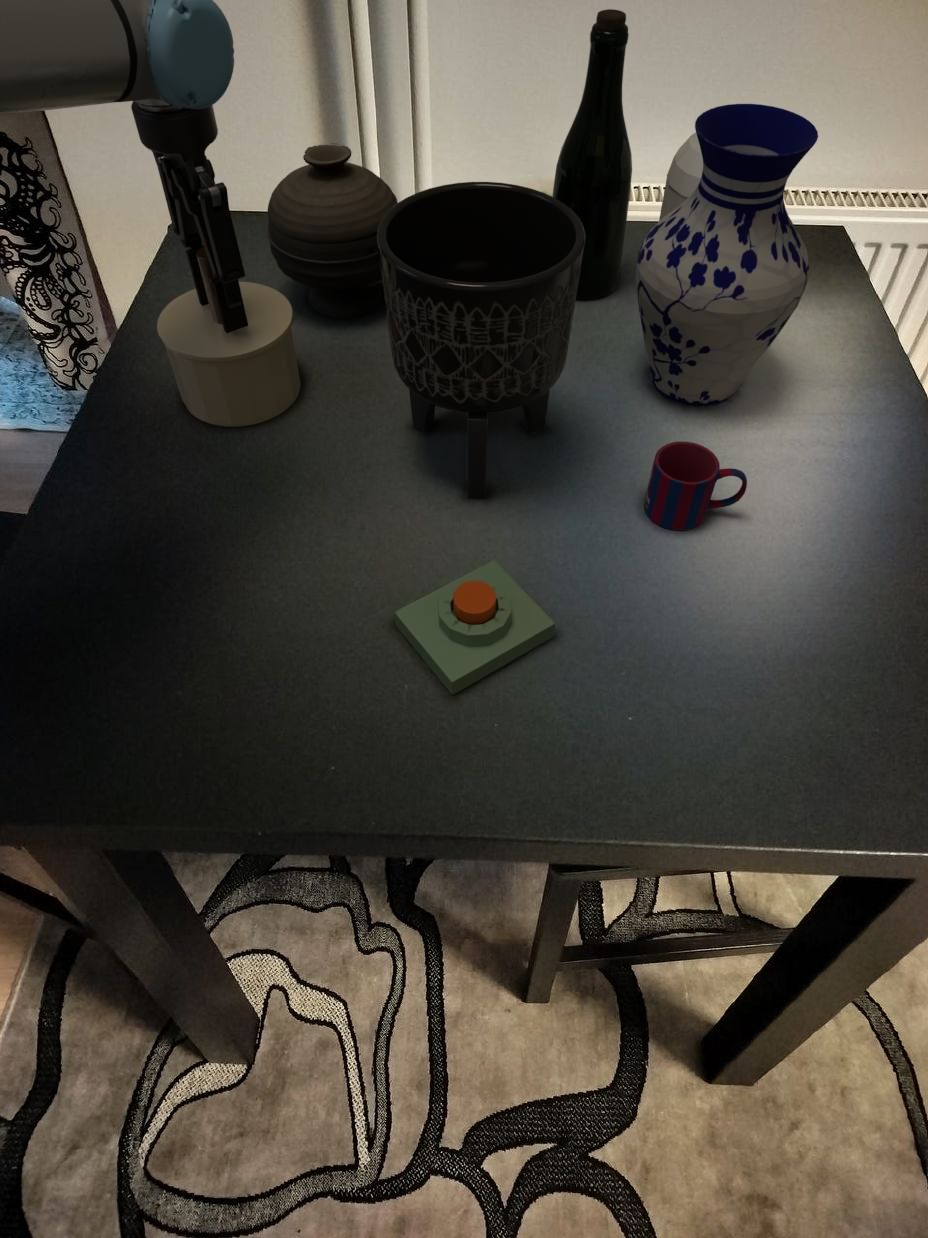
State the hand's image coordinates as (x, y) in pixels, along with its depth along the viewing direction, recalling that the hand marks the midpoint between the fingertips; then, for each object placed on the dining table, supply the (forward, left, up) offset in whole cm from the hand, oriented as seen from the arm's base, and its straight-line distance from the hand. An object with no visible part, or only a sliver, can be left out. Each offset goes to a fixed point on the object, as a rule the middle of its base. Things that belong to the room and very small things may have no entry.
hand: (223, 313), depth 100 cm
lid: (0, 0, -1) cm, 1 cm away
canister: (0, 0, -11) cm, 11 cm away
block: (+2, -48, -11) cm, 49 cm away
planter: (+18, -26, -11) cm, 33 cm away
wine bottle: (+51, -5, -11) cm, 52 cm away
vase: (+48, -31, -11) cm, 58 cm away
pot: (+21, +11, -11) cm, 26 cm away
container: (+66, -13, -11) cm, 68 cm away
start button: (+2, -48, -7) cm, 49 cm away
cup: (+31, -48, -11) cm, 58 cm away
